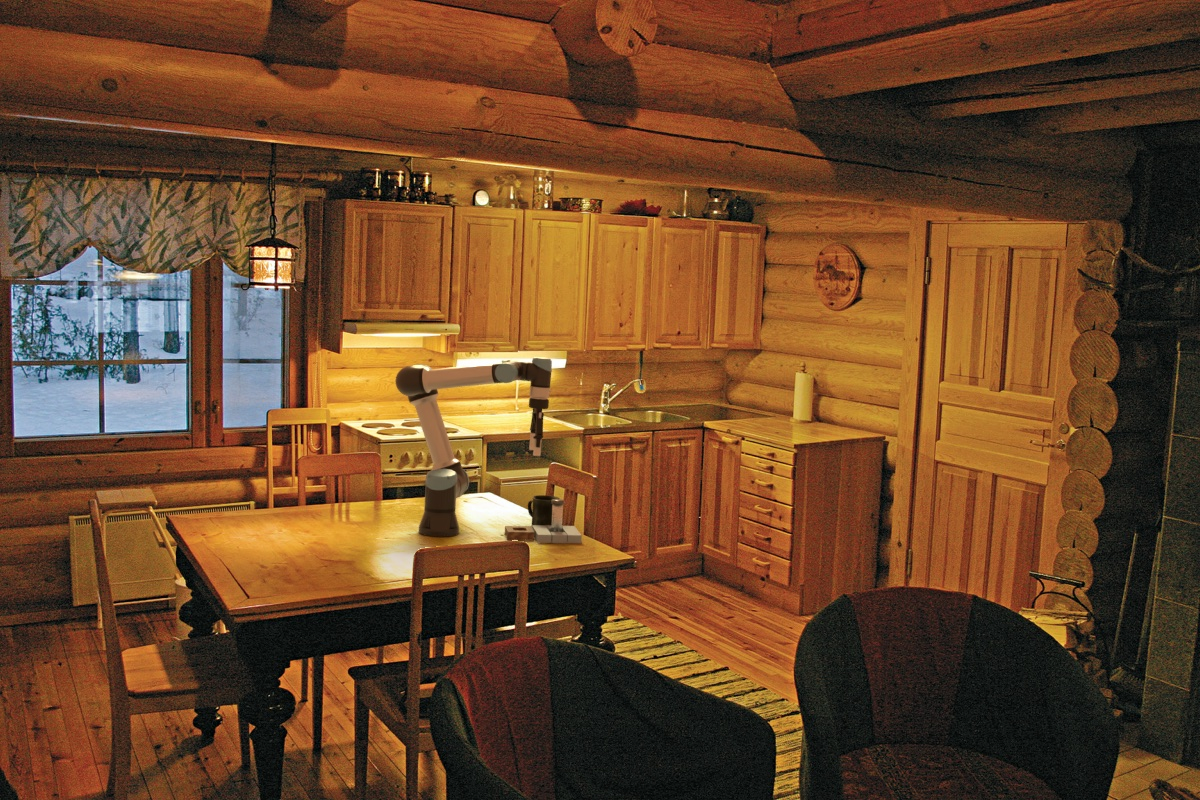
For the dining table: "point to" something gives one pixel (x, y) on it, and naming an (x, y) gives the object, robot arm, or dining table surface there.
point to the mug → (541, 509)
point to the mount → (519, 532)
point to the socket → (556, 534)
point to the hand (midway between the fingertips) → (534, 452)
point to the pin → (557, 515)
